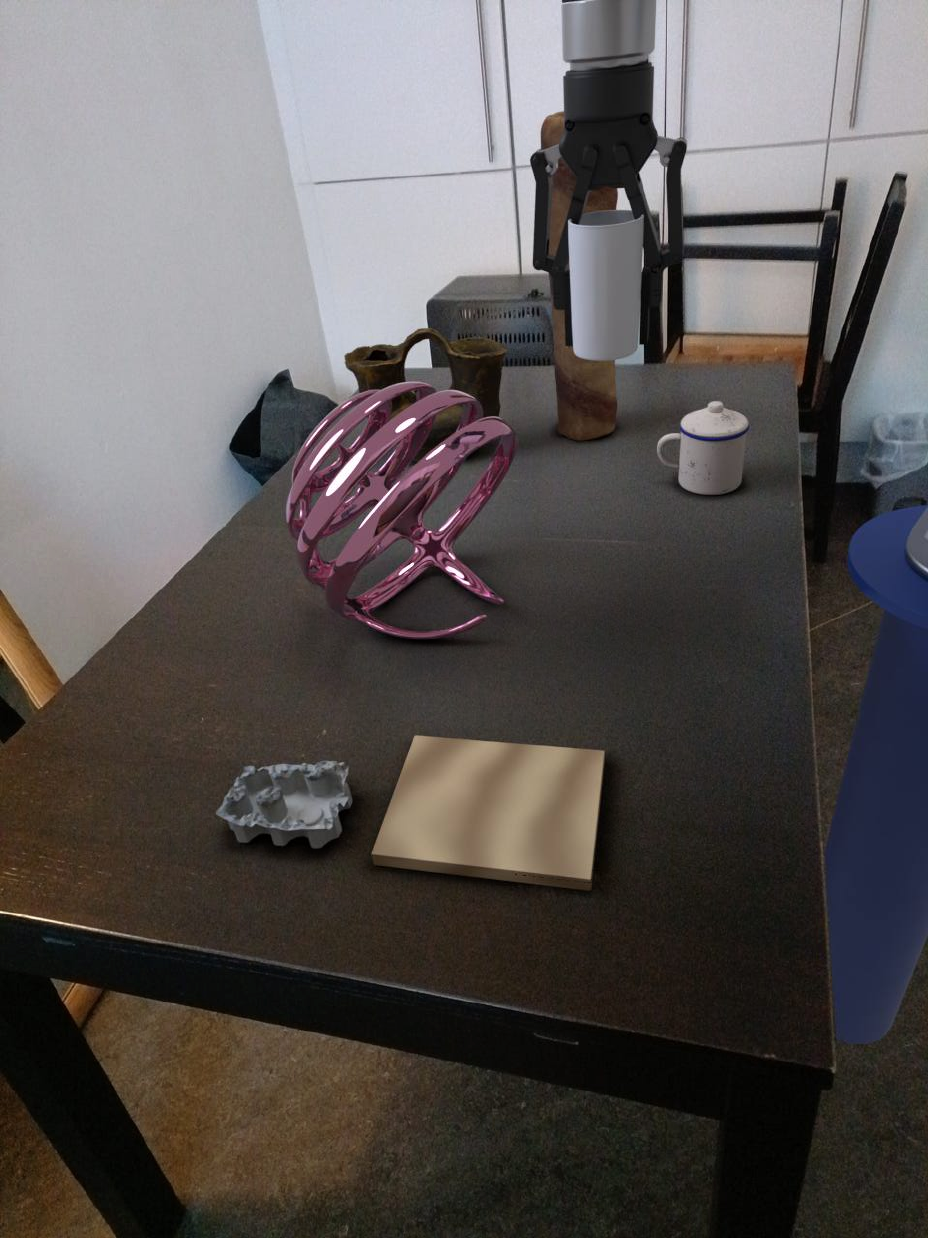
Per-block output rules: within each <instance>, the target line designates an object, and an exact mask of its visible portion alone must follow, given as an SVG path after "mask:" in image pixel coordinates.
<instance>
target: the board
mask: <svg viewBox="0 0 928 1238" xmlns="http://www.w3.org/2000/svg"><path fill="white" fill-rule="evenodd" d="M605 764H606V751H605V750H601V749H588V748H578V747H566V746H565V747H564V746H554V745H553V746H552V745H539V744H529V743H528V744H527V743H517V742H515V743H514V742H502V741H491V740H480V739H479V740H478V739H477V740H476V739H467V738H452V737H440V736H429V735H417V734H416V735H414V737H413V738H412V741H411V745H410V748H409V750H408V753H407V756H406V757H405V761H404V764H403V767H402V769H401V772H400V775H399V777H398V780H397V783H396V785H395V788H394V791H393V793H392V797H391V800H390V802H389V804H388V807H387V809H386V813H385V815H384V817H383V821H382V823H381V826H380V830H379V832H378V835H377V837H376V840H375V843H374V845H373V849H372V851H371V853H370V854H371V857H372V861H373V865H374V866H381V867H388V868H395V869H403V870H413V871H421V872H430V873H438V874H446V875H456V876H462V877H471V878H479V879H488V880H497V881H505V882H511V883H512V882H514V883H521V884H529V885H538V886H546V887H554V888H555V887H556V888H563V889H571V890H572V889H573V890H580V891H587V892H591V891H592V887H593V880H594V879H593V878H594V868H595V860H596V849H597V840H598V832H599V821H600V812H601V802H602V793H603V784H604V776H605V775H604V774H605V773H604V772H605V766H606V765H605ZM592 870H593V871H592ZM515 874H517V875H515ZM523 875H526V876H523ZM529 875H530V876H529ZM532 876H535V877H532ZM539 876H540V877H544V878H540V877H539ZM549 878H554V879H549ZM557 879H565V880H557ZM591 879H592V880H591ZM566 880H570V881H566ZM573 880H575V881H581V882H574V881H573ZM583 882H591V883H583Z"/></svg>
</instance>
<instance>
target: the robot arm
mask: <svg viewBox="0 0 928 1238" xmlns="http://www.w3.org/2000/svg"><path fill="white" fill-rule="evenodd" d="M561 3H562V4H561V7H560V8H561V10H560V11H561V45H562V47H561V48H562V49H561V50H562V52H561V53H562V61H563V62H564V63H565V64H566V63H567V64H569V70H566V71H565V75H563V76H562V79H563V80H562V83H563V84H562V90H563V91H562V92H563V111H564V131H563V135H562V137H561V139H560V142H559V144H558V145H555V146H553V147H550V148H548V149H545V150H544V149H541V148H538V149H537V150H536V151H534V152H533V154H531V156H530V158H529V163H530V167H531V171H532V174H533V177H534V182H535V195H534V217H533V218H534V219H533V220H534V221H533V240H532V241H533V245H532V267H533V268H534V270H535V271H543V272H546V273H548V274H549V273H550V274H551V276H552V279H553V305H554V307H555V310H564V312H565V346H573V334H572V310H571V286H570V270H567V265H568V262H569V239H568V220H569V219H572V223H573V224H576V225H579V223H580V220H581V217H582V214H583V212H584V208H585V205H586V202H587V198H588V195H589V193H590V190H599V189H601V188H604V187H611V188H615V189H617V190H618V189H624V192H625V197H626V198H627V200H628V203H629V205H630V210H632V213H633V216H634V219H635V220H636V219H639V218H640V217H641V215H644V229H643V252H644V255H645V259H646V262H647V265H648V266H642V274H641V295H640V318H639V335H638V346H643V345H648V343H649V336H650V334H649V333H650V312H651V310H650V309H651V308H657V307H660V305H661V303H662V299H663V284H664V283H663V282H664V281H663V280H664V271H665V270H666V269H667V268H668V267H671V266H674V265H679V264H681V263H682V261H683V260H684V254H685V245H684V244H685V243H684V241H685V240H684V216H683V215H684V213H683V188H682V168H683V164H684V161H685V158H686V154H687V150H688V141H687V139H686V138H685V137H677V138H676V139H675V138H671V137H667V136H662V135H659V133H658V130H657V128H656V126H655V123H654V87H655V86H654V82H655V80H654V79H655V66H654V65H653V62H651V61H649V58H648V55H650V54H652V53H653V52H654V51H655V48H656V45H655V44H656V25H657V23H656V21H657V19H656V17H657V0H561ZM654 151H656V152H657V153H658V154H659V162H660V165H661V166H662V167H664V168H666V173H665V186H666V207H667V208H666V211H667V227H668V228H667V230H668V231H667V234H668V248H666V249H664V250H662V246H661V244H660V240H659V236H658V233H657V230H656V226H655V224H654V220H653V216H652V214H651V209H650V207H649V203H648V201H647V200H648V199H647V196H646V193H645V190H644V189H645V188H644V183H643V179H642V177H641V174H640V172H641V170H642V169H643V168H644V166H645V164H647V161H648V160H649V158H650V156H651V155H652V153H653V152H654ZM561 157H562V158H563V159H564V161H565V162H566V163H567V165H568V166H569V168H570V169H571V171H572V172H573V174H574V175H575V176H576V178H577V181H576V185H575V188H574V191H573V195H572V200H571V203H570V207H569V210H568V214H567V217H566V221H565V224H564V228H563V231H562V235H561V238H560V242H559V245H558V249H557V252H556V256H553V255H550V254H549V248H550V228H551V209H552V190H553V176H552V175H553V174H554V173H555V172H556V171H557V168H558V160H559V158H561ZM904 555H905V559H906V561H907V563H908V565H909V566H910V567H911V569H912V570H913V571H914V572H916V573H917V574H918V575H919V576H921V577H922V578H924V579H925V580H927V581H928V507H927V509H926V510H925V511H924V513H923V514H922V516H921V517H920V518H919V520H918V521H917V523H916V524H915V526H914V527H913V528H912V530H911V532H910V534H909V536H908V539H907V542H906V546H905V551H904Z"/></svg>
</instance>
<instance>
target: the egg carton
mask: <svg viewBox="0 0 928 1238" xmlns="http://www.w3.org/2000/svg"><path fill="white" fill-rule="evenodd" d="M349 768H350V765H349V764H348V763H347V762H345V761H342V762H340V761H338V760H321V761H316V764H310V763H306V762H302V763H301V764H289V763H279V764H272V765H269V766H262V767H260V768H257V767H256V766H255V765H247V766H243V768H242V773H241V775H240V776H236V778H235V781H234V784H233V785H232V786H231V788H229V791H228V793H227V794H226V795H225V796H224V797H223V802H222V805H221V806H219V808H218V809H217V810H216V811H215V815H217V816H218V817H220V818H222V819H223V820H226V821H227V823H228V825H229V829H230V830H231V831H233V833H234V834H235V838H236V840H237V842H238V843H240V844H241V843H242V844H245V843H246V844H249V843H250V842H251V841H252V840H253V839H254V838H256V837H257V836H258V835H262V834H266V835H270V836H271V840H272V843H273V845H274V846H278V847H279V846H280V847H284V846H286V845H288V843H289V842H290V841H291V840H294V839H295V838H298V837H305V838H307V839H308V842H309V845H310V847H311V848H312V849H322V848H323V847H324V846H325V845H326V844H327V843H329V842H330V841H332V840H335V839H337V838H339V837H340V835H341V833H342V832H343V828H342V824H341V820H340V817H339V813H340V812H341V811H343V810H348V809H350V808H351V806H352V804H353V797H352V793H351V790H350V789H351V788H350V787H349V784H348V782H346V779H347V776H348V775H349Z"/></svg>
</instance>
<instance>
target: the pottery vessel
mask: <svg viewBox="0 0 928 1238" xmlns="http://www.w3.org/2000/svg"><path fill="white" fill-rule="evenodd" d="M425 340H430V341H432V342H433V343H435V345H436V346H437V347H438V348H439V349H440V350H441V351H442V352H443V354H444V356H445V358H446V361H447V364H448V367H449V370H450V375H451V385H450V386H449V388H448V389H447V390H459V391H462V392H465V393H467V394H469V395H471V396H473V397H474V398H476V399H477V400H478V401H479V403H480V404H481V406H482V410H483V418H485V417H491V416H496V417H500V411H501V407H502V406H501V402H500V390H501V383H502V376H503V372H502V371H503V364H504V358H505V355H506V354H507V352H508V349H505V344H503V343H500V342H498V341H495V340H493V339H491V338H488V337H473V336H472V337H465V338H462V339H455V340H452V341H449V339H448V338H447V336H445V335H443V334H441V332H439V331H438V330H436V329H434V328H433V327H423V328H422V327H421V328H417V329H415V331H413V332H412V333H410V334H409V335H407V336H406V338H405V340H404V341H403V342H401V343H399V344H397V345H393V344H385V343H382V344H380V343H378V344H373V345H362V346H358V347H356V348H355V349H353V350H352V351H351V352H346V353H345V354H344V355H343V357H344V364H345V368H346V369H347V370H348V371H349V372H351V373H352V374H353V376H354V377H355V379H356V383H357V387H358V394H360V393H362V392H365V391H369V390H382V389H384V388H386V387H389V386H391V385H394V384H398V383H402V382H407V379H406V373H405V372H406V371H405V366H406V361H407V357H408V354H409V352H410V351H411V350H412V348H413V347H415V345H417V344H419V343H421V342H423V341H425ZM416 402H417V400H416V395H415V393H414V391H409V392H406V393H404V394H402V395H399V396H397V397H396V398H394V399H392V410H391V414H390V418H389V420H388V422H389V421H390V420H391V419H393V418H394V417H395V416H396V415H398V414H399V413H401V412H402V411H403V410H405V409H406V408H408V407H409V406H411V405H412V404H414V403H416ZM461 415H462V404H458V405H455V406H452V407H450V408H448V409H446V410H444V411H442V412H440V413H438V414H437V415H436V419H435V421H434V424H433V426H432V428H431V431H430V433H429V435H428V436H427V438H426V440H425V442H424V444H423V445H422V447H421V448H420V450H419V451H418V453H417V454H416V456H415V457H414V459H413V460H412V462H415V463H418V462H419V461H420V460H421V459H422V458H423V457H424V456H425V455H427V454H428V453H429V452H430V451H431V450H433V449H434V448H435V447H436V446H438V445H439V444H440V443H441V442H443V441H444V440H445V439H447V438H448V437H450V436H451V435H452V434H454V433H455V432H456V430H457V428H458V425H459V423H460V419H461ZM369 416H370V415H369ZM369 416H368V417H367V418H366V419H367V420H368V419H369ZM401 441H402V440H401ZM401 441H400V442H401ZM400 442H399V443H398V444H397V445H399V444H400ZM472 454H473V452H472V453H471V454H469V455H468V456H471V455H472Z"/></svg>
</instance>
